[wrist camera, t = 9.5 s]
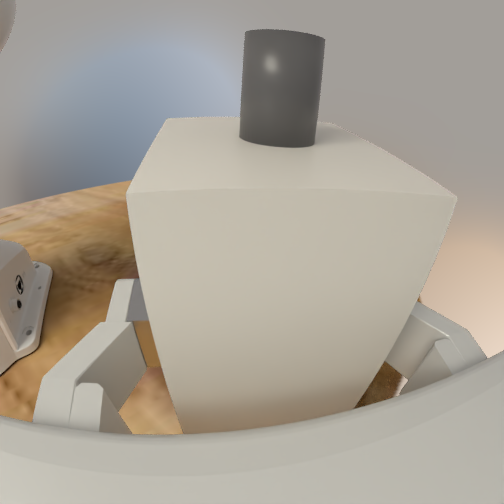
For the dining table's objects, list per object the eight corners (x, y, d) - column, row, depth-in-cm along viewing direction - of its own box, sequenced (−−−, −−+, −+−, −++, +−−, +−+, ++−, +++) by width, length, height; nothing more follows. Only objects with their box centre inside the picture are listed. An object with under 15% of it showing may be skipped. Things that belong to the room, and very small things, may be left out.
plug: (189, 363, 13) (167, 44, 6) (289, 354, 13) (340, 56, 7) (197, 470, 9) (119, 6, 2) (319, 453, 9) (484, 72, 3)
